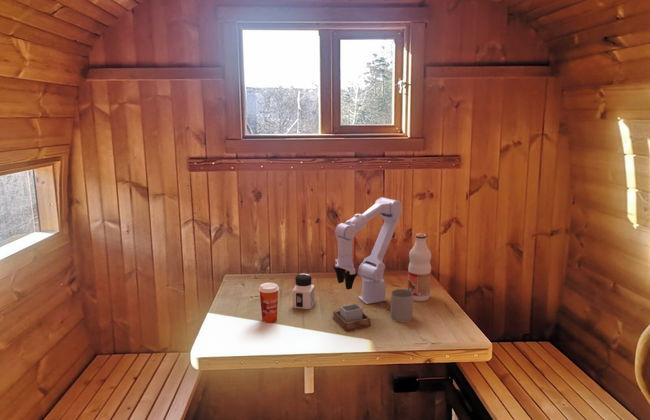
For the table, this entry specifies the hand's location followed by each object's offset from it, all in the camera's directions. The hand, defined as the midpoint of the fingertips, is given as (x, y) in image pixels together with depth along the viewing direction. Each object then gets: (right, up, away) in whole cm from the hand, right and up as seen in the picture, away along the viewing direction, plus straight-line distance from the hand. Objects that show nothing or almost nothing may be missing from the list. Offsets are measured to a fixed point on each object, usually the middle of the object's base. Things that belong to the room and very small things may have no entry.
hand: (344, 285), depth 200 cm
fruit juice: (+32, -7, +13) cm, 36 cm away
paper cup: (-29, -12, -8) cm, 33 cm away
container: (-17, -9, +6) cm, 20 cm away
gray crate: (+2, -12, -10) cm, 16 cm away
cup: (+22, -12, -6) cm, 25 cm away
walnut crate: (+2, -12, -10) cm, 16 cm away
